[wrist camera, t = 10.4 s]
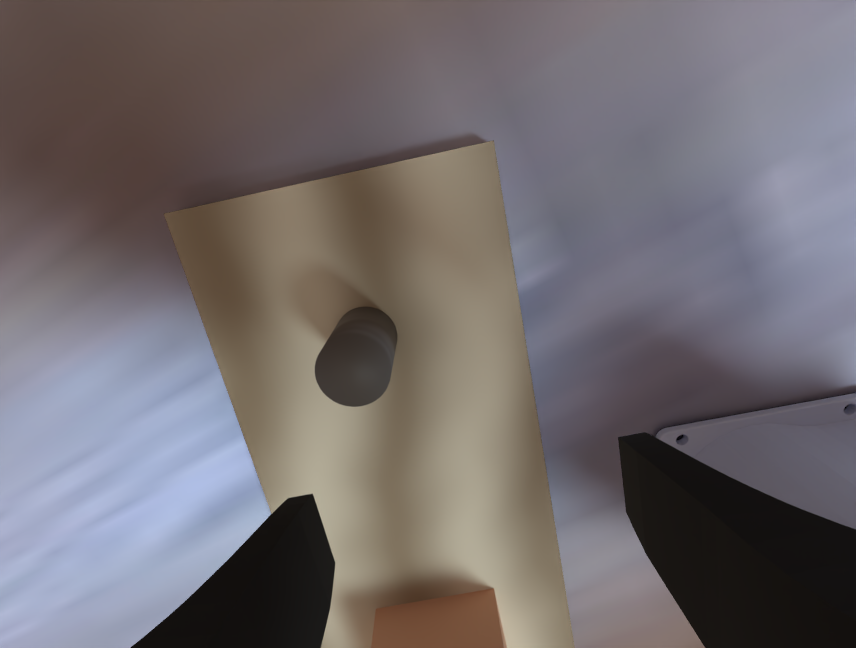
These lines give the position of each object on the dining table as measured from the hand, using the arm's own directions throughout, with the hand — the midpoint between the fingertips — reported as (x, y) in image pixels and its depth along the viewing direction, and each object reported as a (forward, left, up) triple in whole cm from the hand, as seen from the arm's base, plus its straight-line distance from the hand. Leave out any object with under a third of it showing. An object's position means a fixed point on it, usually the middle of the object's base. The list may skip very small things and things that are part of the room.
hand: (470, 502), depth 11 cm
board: (+3, +6, -9) cm, 12 cm away
